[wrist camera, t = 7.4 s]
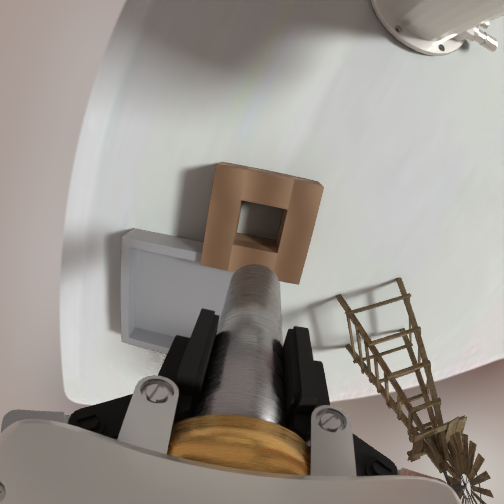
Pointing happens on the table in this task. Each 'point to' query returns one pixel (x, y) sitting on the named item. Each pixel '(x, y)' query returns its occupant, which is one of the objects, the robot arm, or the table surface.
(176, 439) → the pin
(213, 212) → the socket block
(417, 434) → the miniature windmill
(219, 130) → the table surface
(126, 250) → the tray
